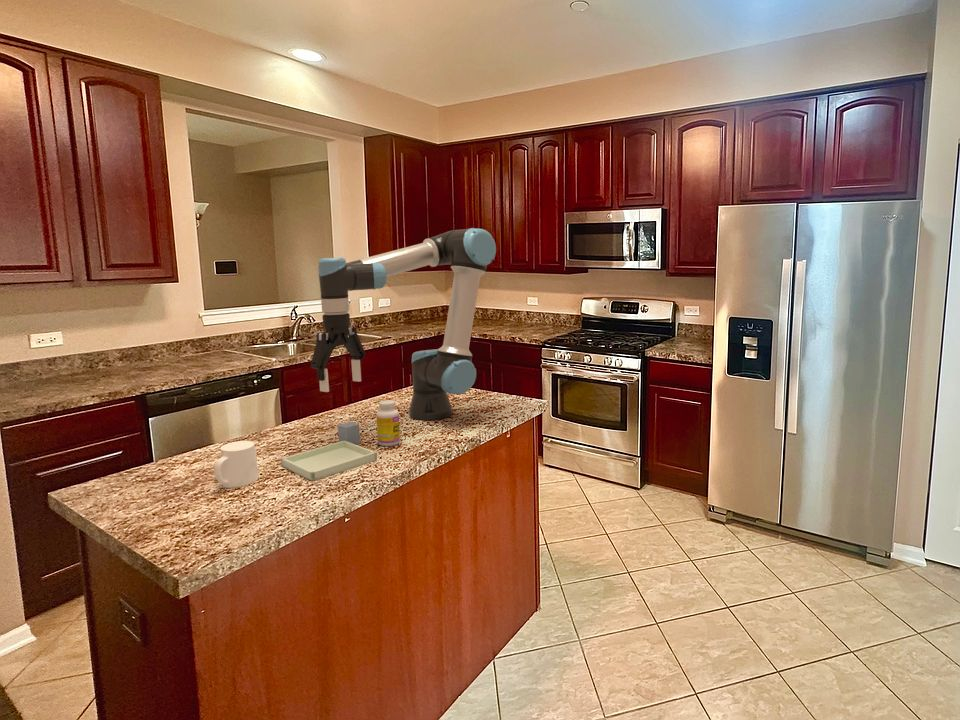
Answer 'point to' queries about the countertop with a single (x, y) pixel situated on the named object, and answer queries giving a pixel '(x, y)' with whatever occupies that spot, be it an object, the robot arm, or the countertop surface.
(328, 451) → the tray
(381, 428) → the supplement bottle
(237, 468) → the mug
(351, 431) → the grey rectangular block
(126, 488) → the countertop surface
